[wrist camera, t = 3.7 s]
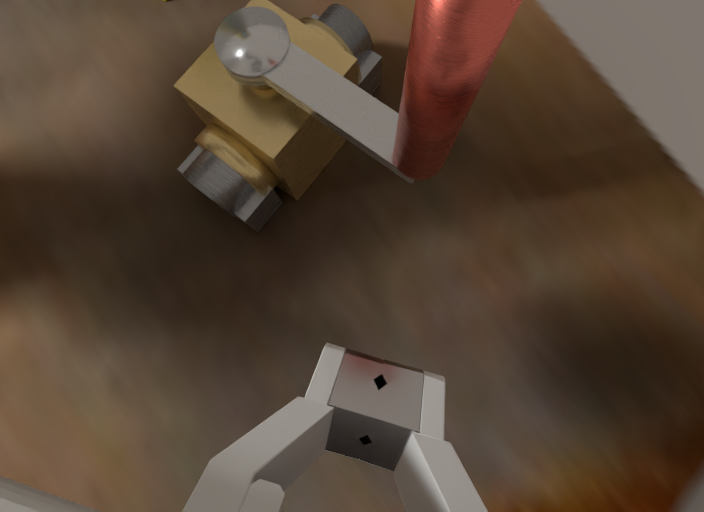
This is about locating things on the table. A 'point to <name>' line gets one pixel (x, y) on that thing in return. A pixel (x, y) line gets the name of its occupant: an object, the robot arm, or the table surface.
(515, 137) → the table surface
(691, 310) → the table surface
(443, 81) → the lever
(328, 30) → the valve body
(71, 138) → the table surface
